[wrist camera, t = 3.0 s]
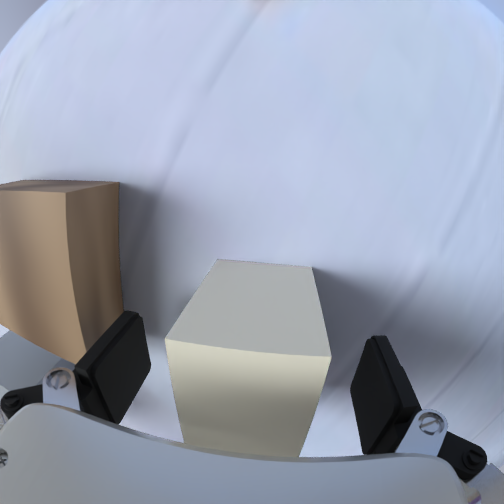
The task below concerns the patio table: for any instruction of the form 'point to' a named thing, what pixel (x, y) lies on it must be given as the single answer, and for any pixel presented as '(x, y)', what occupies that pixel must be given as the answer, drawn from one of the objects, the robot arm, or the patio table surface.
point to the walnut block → (60, 262)
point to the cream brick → (249, 359)
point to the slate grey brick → (25, 363)
